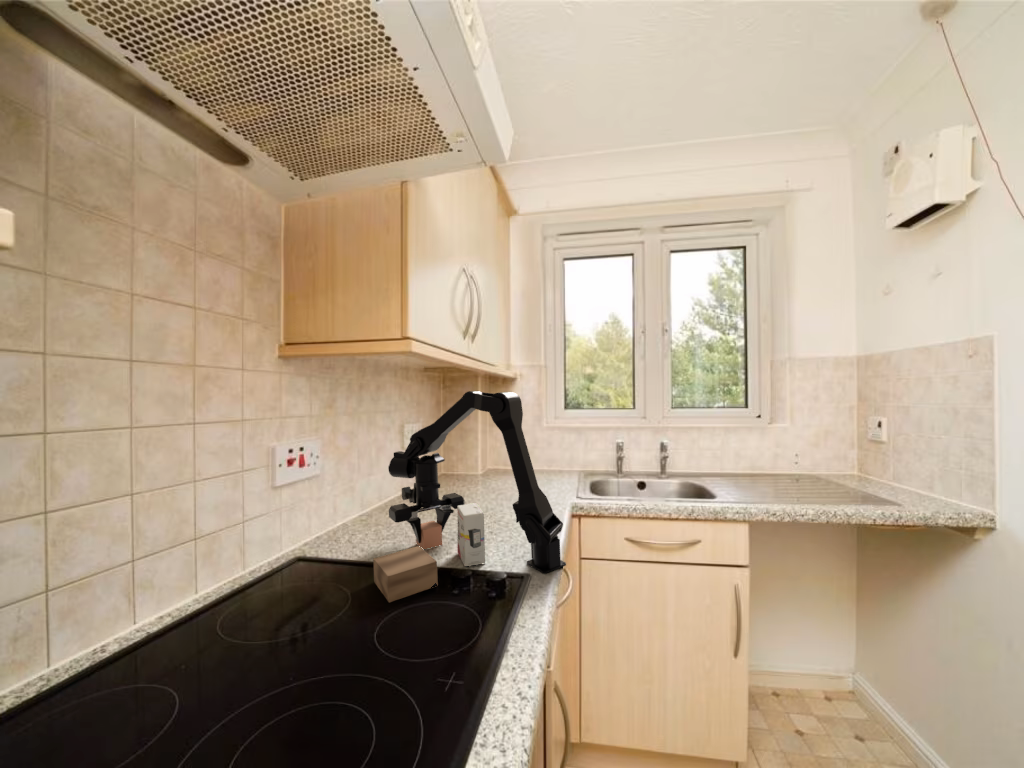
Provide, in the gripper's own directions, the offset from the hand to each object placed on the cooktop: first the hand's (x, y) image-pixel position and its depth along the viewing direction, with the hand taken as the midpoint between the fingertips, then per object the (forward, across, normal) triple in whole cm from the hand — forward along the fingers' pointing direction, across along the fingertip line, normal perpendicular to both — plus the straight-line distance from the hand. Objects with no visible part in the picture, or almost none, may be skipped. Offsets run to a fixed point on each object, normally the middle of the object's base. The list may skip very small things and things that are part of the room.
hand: (429, 539), depth 102 cm
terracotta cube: (+1, 0, 0) cm, 1 cm away
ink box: (+2, -4, +14) cm, 15 cm away
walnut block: (+1, +12, +16) cm, 20 cm away
